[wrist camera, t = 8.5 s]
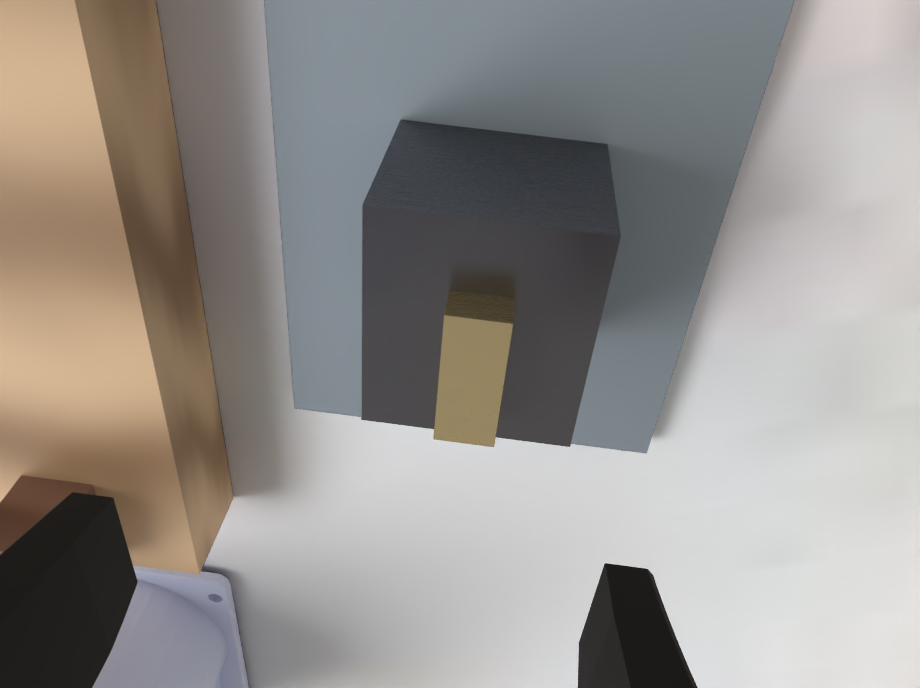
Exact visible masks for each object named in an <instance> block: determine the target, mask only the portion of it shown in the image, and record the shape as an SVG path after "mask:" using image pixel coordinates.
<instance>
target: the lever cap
mask: <svg viewBox="0 0 920 688" xmlns="http://www.w3.org/2000/svg"><path fill="white" fill-rule="evenodd" d="M620 238H621V233H620V226H619V219H618V212H617V205H616V199H615V192H614V185H613V178H612V171H611V164H610V157H609V150H608V144H604V143H596V142H587V141H579V140H570V139H562V138H553V137H545V136H537V135H528V134H520V133H511V132H503V131H494V130H486V129H477V128H469V127H461V126H452V125H444V124H435V123H427V122H418V121H410V120H402V119H401V120H400V122H399V124H398V126H397V129H396V131H395V133H394V135H393V138H392V140H391V142H390V144H389V146H388V149H387V151H386V153H385V155H384V158H383V160H382V162H381V164H380V167H379V169H378V171H377V173H376V176H375V178H374V180H373V182H372V184H371V187H370V189H369V191H368V193H367V196H366V198H365V200H364V202H363V205H362V420H369V421H376V422H384V423H392V424H399V425H407V426H415V427H422V428H430V429H434V439H436V440H444V441H452V442H459V443H467V444H475V445H482V446H490V447H494V444H495V437H499V438H506V439H514V440H522V441H529V442H537V443H545V444H552V445H560V446H568V447H570V445H571V441H572V437H573V432H574V428H575V424H576V420H577V416H578V412H579V408H580V404H581V399H582V395H583V391H584V387H585V383H586V379H587V375H588V371H589V366H590V362H591V358H592V354H593V350H594V346H595V342H596V337H597V333H598V329H599V325H600V321H601V317H602V313H603V309H604V304H605V300H606V296H607V292H608V288H609V284H610V280H611V276H612V271H613V267H614V263H615V259H616V255H617V251H618V247H619V242H620Z"/></svg>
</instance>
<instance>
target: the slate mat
mask: <svg viewBox="0 0 920 688" xmlns="http://www.w3.org/2000/svg"><path fill="white" fill-rule="evenodd" d="M793 3H794V0H264V7H265V20H266V34H267V47H268V61H269V74H270V88H271V101H272V115H273V128H274V142H275V155H276V168H277V182H278V195H279V209H280V222H281V236H282V249H283V263H284V276H285V290H286V303H287V317H288V330H289V344H290V357H291V371H292V384H293V397H294V408H295V409H303V410H311V411H319V412H327V413H335V414H342V415H350V416H358V417H362V205H363V202H364V200H365V198H366V196H367V193H368V191H369V189H370V187H371V184H372V182H373V180H374V178H375V176H376V173H377V171H378V169H379V167H380V164H381V162H382V160H383V158H384V155H385V153H386V151H387V149H388V146H389V144H390V142H391V140H392V138H393V135H394V133H395V131H396V129H397V126H398V124H399V122H400V120H401V119H402V120H410V121H418V122H427V123H435V124H444V125H452V126H461V127H469V128H477V129H486V130H494V131H503V132H511V133H520V134H528V135H537V136H545V137H553V138H562V139H570V140H579V141H587V142H596V143H604V144H608V150H609V157H610V164H611V171H612V178H613V185H614V192H615V199H616V205H617V212H618V219H619V226H620V233H621V238H620V242H619V247H618V251H617V255H616V259H615V263H614V267H613V271H612V276H611V280H610V284H609V288H608V292H607V296H606V300H605V304H604V309H603V313H602V317H601V321H600V325H599V329H598V333H597V337H596V342H595V346H594V350H593V354H592V358H591V362H590V366H589V371H588V375H587V379H586V383H585V387H584V391H583V395H582V399H581V404H580V408H579V412H578V416H577V420H576V424H575V428H574V432H573V437H572V441H571V444H577V445H585V446H593V447H601V448H609V449H616V450H624V451H632V452H640V453H647V450H648V447H649V444H650V441H651V438H652V435H653V432H654V429H655V426H656V423H657V420H658V416H659V413H660V410H661V407H662V404H663V401H664V398H665V395H666V392H667V389H668V386H669V383H670V380H671V377H672V374H673V371H674V367H675V364H676V361H677V358H678V355H679V352H680V349H681V346H682V343H683V340H684V337H685V334H686V331H687V328H688V325H689V321H690V318H691V315H692V312H693V309H694V306H695V303H696V300H697V297H698V294H699V291H700V288H701V285H702V282H703V279H704V276H705V272H706V269H707V266H708V263H709V260H710V257H711V254H712V251H713V248H714V245H715V242H716V239H717V236H718V233H719V230H720V227H721V223H722V220H723V217H724V214H725V211H726V208H727V205H728V202H729V199H730V196H731V193H732V190H733V187H734V184H735V181H736V177H737V174H738V171H739V168H740V165H741V162H742V159H743V156H744V153H745V150H746V147H747V144H748V141H749V138H750V135H751V132H752V128H753V125H754V122H755V119H756V116H757V113H758V110H759V107H760V104H761V101H762V98H763V95H764V92H765V89H766V86H767V83H768V79H769V76H770V73H771V70H772V67H773V64H774V61H775V58H776V55H777V52H778V49H779V46H780V43H781V40H782V37H783V34H784V30H785V27H786V24H787V21H788V18H789V15H790V12H791V9H792V6H793Z"/></svg>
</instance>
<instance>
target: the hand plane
mask: <svg viewBox="0 0 920 688" xmlns="http://www.w3.org/2000/svg"><path fill="white" fill-rule="evenodd" d="M72 492H76V493H83V494H91V495H98V496H105V497H113V498H114V501H115V505H116V508H117V512H118V515H119V519H120V522H121V526H122V529H123V533H124V536H125V540H126V543H127V547H128V550H129V554H130V557H131V560H132V564H133V566H141V567H148V568H155V569H163V570H170V571H178V572H185V573H192V574H200V572H201V570H202V567H203V565H204V563H205V561H206V558H207V556H208V554H209V552H210V549H211V547H212V545H213V543H214V540H215V538H216V536H217V534H218V531H219V529H220V527H221V525H222V522H223V520H224V518H225V516H226V513H227V511H228V509H229V507H230V504H231V502H232V500H233V493H232V487H231V480H230V474H229V468H228V461H227V455H226V448H225V442H224V436H223V429H222V423H221V416H220V410H219V404H218V397H217V391H216V384H215V378H214V372H213V365H212V359H211V352H210V346H209V340H208V333H207V327H206V320H205V314H204V308H203V301H202V295H201V288H200V282H199V275H198V269H197V263H196V256H195V250H194V243H193V237H192V231H191V224H190V218H189V211H188V205H187V199H186V192H185V186H184V179H183V173H182V167H181V160H180V154H179V147H178V141H177V135H176V128H175V122H174V115H173V109H172V103H171V96H170V90H169V83H168V77H167V71H166V64H165V58H164V51H163V45H162V39H161V32H160V26H159V19H158V13H157V7H156V0H0V554H1V553H2V552H3V551H4V550H6V549H7V548H8V547H9V546H10V545H11V544H13V543H14V542H15V541H16V540H17V539H18V538H19V537H21V536H22V535H23V534H24V533H25V532H26V531H27V530H29V529H30V528H31V527H32V526H33V525H34V524H36V523H37V522H38V521H39V520H40V519H41V518H42V517H44V516H45V515H46V514H47V513H48V512H49V511H50V510H52V509H53V508H54V507H55V506H56V505H57V504H59V503H60V502H61V501H62V500H63V499H65V498H66V497H67V496H68V495H70V494H71V493H72Z"/></svg>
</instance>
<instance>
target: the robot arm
mask: <svg viewBox="0 0 920 688" xmlns="http://www.w3.org/2000/svg"><path fill="white" fill-rule="evenodd" d="M0 688H249V686H248V680H247V674H246V669H245V663H244V658H243V652H242V646H241V641H240V635H239V629H238V624H237V618H236V613H235V607H234V601H233V596H232V590H231V585H230V582H229V580H228V579H227V578H226V577H225V576H223V575H221V574H217V573H210V572H203V571H201V572H200V574H192V573H185V572H178V571H170V570H163V569H155V568H148V567H141V566H133V564H132V560H131V557H130V554H129V550H128V547H127V543H126V540H125V536H124V533H123V529H122V526H121V522H120V519H119V515H118V512H117V508H116V505H115V501H114V498H113V497H105V496H98V495H91V494H83V493H76V492H72V493H71V494H70V495H68V496H67V497H66V498H65V499H63V500H62V501H61V502H60V503H59V504H57V505H56V506H55V507H54V508H53V509H52V510H50V511H49V512H48V513H47V514H46V515H45V516H44V517H42V518H41V519H40V520H39V521H38V522H37V523H36V524H34V525H33V526H32V527H31V528H30V529H29V530H27V531H26V532H25V533H24V534H23V535H22V536H21V537H19V538H18V539H17V540H16V541H15V542H14V543H13V544H11V545H10V546H9V547H8V548H7V549H6V550H4V551H3V552H2V553H1V554H0ZM578 688H697V686H696V683H695V681H694V679H693V677H692V674H691V672H690V670H689V668H688V665H687V663H686V660H685V658H684V656H683V653H682V651H681V648H680V646H679V644H678V641H677V639H676V636H675V634H674V631H673V629H672V626H671V624H670V621H669V618H668V616H667V613H666V611H665V608H664V605H663V602H662V600H661V597H660V594H659V591H658V589H657V586H656V583H655V580H654V577H653V575H652V574H651V572H650V571H649V570H648V569H644V568H636V567H629V566H621V565H614V564H606V563H605V565H604V568H603V571H602V574H601V577H600V580H599V583H598V586H597V589H596V592H595V595H594V598H593V601H592V604H591V608H590V611H589V614H588V617H587V620H586V623H585V626H584V629H583V632H582V635H581V638H580V641H579V667H578Z"/></svg>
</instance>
